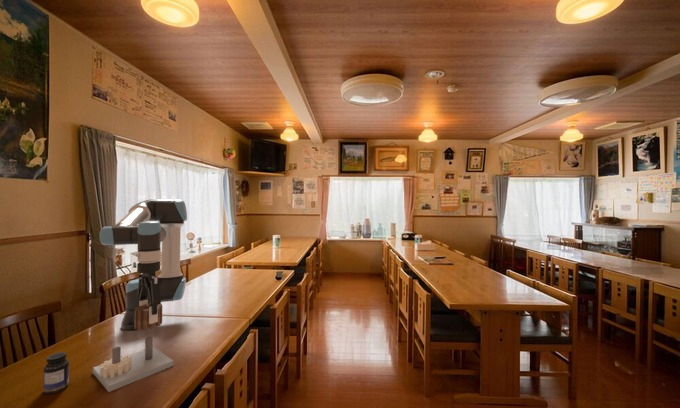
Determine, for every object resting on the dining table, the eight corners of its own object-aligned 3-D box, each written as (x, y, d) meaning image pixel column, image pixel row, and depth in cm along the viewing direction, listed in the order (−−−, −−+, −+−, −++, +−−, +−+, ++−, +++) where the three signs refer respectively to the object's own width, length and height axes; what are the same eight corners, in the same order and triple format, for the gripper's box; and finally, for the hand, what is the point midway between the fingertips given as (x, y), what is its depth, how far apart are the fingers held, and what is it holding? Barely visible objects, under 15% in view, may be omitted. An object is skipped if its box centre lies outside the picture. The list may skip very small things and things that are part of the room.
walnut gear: (130, 325, 113) (131, 307, 113) (156, 318, 120) (157, 301, 120) (139, 332, 107) (139, 313, 107) (165, 324, 114) (166, 306, 114)
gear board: (92, 373, 107) (93, 345, 107) (153, 351, 123) (154, 327, 123) (108, 392, 96) (108, 361, 96) (173, 365, 112) (173, 339, 112)
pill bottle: (54, 383, 100) (55, 351, 101) (73, 382, 101) (74, 350, 101) (37, 395, 94) (38, 360, 94) (58, 394, 95) (58, 359, 95)
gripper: (127, 259, 118) (127, 316, 117) (149, 266, 104) (148, 330, 104) (148, 257, 123) (148, 311, 123) (171, 263, 110) (170, 323, 110)
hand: (148, 319), depth 113 cm, fingers closed on walnut gear, 9 cm apart
